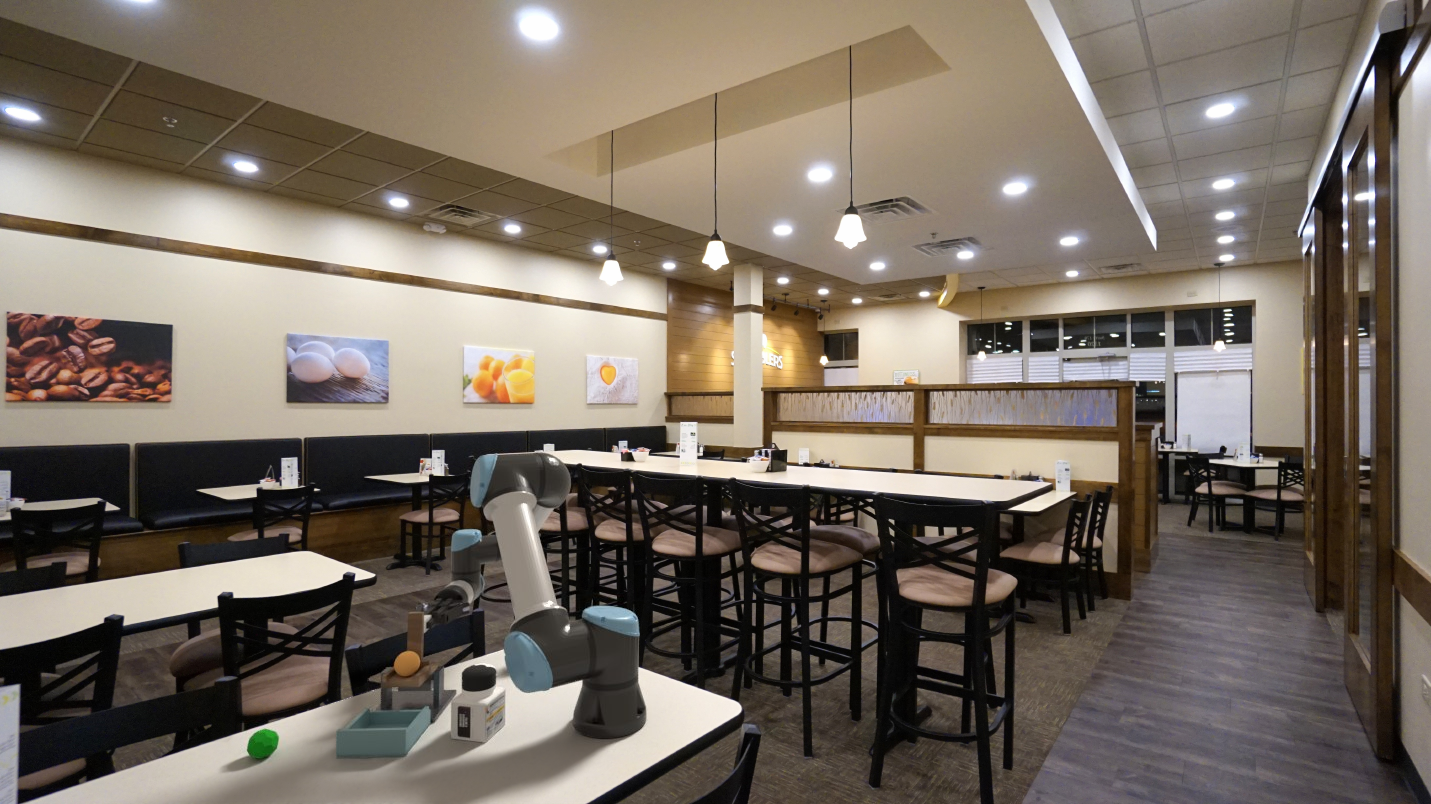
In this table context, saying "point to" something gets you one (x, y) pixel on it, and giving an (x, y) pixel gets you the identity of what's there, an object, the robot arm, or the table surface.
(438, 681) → the stand
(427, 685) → the brown wooden catapult
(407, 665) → the ball
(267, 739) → the polyhedron
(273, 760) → the table surface
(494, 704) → the container
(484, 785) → the table surface
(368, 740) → the tray
